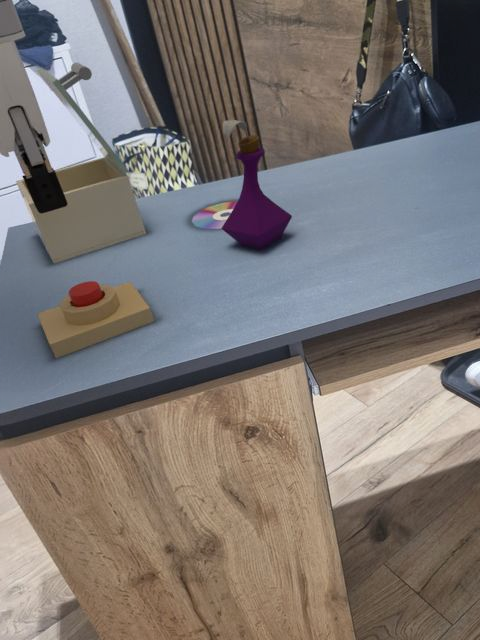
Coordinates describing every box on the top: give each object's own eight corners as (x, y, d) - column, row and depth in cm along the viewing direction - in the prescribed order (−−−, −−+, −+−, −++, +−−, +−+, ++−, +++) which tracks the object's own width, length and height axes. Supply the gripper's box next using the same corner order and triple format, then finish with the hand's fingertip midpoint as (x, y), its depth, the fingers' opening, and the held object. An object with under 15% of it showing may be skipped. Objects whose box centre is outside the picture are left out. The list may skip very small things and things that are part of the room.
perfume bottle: (259, 228, 100) (234, 109, 89) (296, 236, 96) (274, 112, 85) (225, 248, 95) (195, 125, 85) (263, 257, 91) (235, 129, 81)
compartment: (54, 264, 97) (28, 204, 92) (39, 237, 107) (15, 181, 102) (146, 234, 103) (127, 175, 97) (124, 211, 113) (106, 156, 107)
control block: (56, 359, 75) (43, 331, 73) (43, 328, 82) (31, 301, 79) (155, 322, 79) (145, 294, 77) (135, 295, 86) (126, 269, 84)
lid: (52, 82, 87) (86, 58, 88) (36, 70, 97) (66, 49, 98) (124, 174, 97) (154, 152, 98) (103, 155, 107) (130, 135, 108)
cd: (267, 200, 109) (267, 199, 109) (247, 228, 100) (247, 227, 100) (206, 202, 111) (205, 202, 111) (181, 230, 102) (181, 230, 102)
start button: (77, 311, 76) (71, 299, 75) (71, 300, 79) (65, 288, 78) (106, 301, 78) (102, 288, 77) (99, 290, 80) (95, 278, 79)
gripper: (-67, 30, 65) (9, 200, 76) (-61, 41, 54) (27, 239, 65) (9, 16, 68) (73, 182, 78) (30, 23, 57) (101, 216, 67)
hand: (52, 207), depth 71 cm, fingers closed
